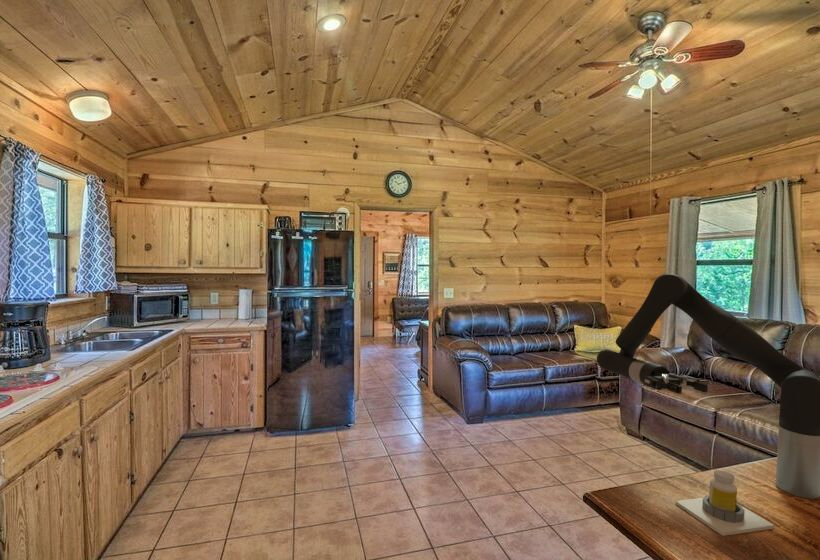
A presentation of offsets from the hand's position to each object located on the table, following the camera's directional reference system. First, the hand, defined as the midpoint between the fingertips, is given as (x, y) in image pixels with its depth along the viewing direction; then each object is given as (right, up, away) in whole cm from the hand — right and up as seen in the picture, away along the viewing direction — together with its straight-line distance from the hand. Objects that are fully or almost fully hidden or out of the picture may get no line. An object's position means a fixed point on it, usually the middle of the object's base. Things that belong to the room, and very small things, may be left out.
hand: (693, 389), depth 115 cm
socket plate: (0, -29, -11) cm, 31 cm away
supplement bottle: (-1, -28, -11) cm, 30 cm away
